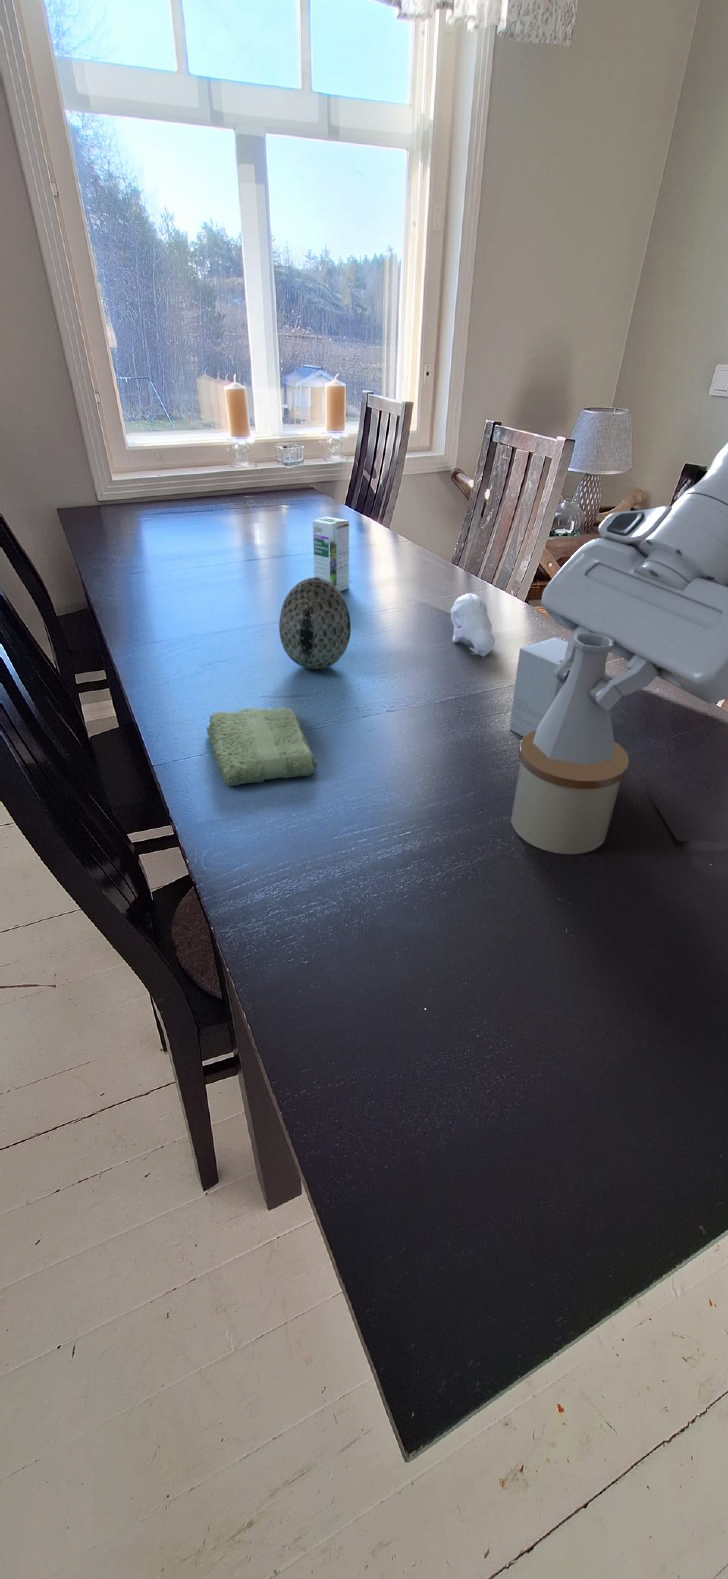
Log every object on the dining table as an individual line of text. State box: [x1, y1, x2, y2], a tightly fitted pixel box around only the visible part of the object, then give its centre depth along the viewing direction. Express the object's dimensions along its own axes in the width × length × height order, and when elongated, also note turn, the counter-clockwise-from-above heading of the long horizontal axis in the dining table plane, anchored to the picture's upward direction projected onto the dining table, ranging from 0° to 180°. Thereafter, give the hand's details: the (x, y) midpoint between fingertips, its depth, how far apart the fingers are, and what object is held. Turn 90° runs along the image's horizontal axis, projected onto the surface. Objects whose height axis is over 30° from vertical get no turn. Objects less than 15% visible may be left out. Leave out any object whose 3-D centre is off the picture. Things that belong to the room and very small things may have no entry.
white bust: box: [450, 592, 496, 658], centre depth 123 cm, size 6×8×12 cm
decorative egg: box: [278, 576, 352, 671], centre depth 113 cm, size 12×12×15 cm
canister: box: [510, 730, 630, 855], centre depth 79 cm, size 12×12×10 cm
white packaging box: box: [508, 636, 569, 738], centre depth 96 cm, size 7×7×13 cm
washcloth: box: [206, 707, 318, 787], centre depth 93 cm, size 13×18×3 cm
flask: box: [533, 633, 615, 765], centre depth 59 cm, size 7×7×10 cm
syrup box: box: [312, 516, 350, 593], centre depth 147 cm, size 6×6×14 cm
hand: (578, 692), depth 58 cm, fingers closed on flask, 3 cm apart
